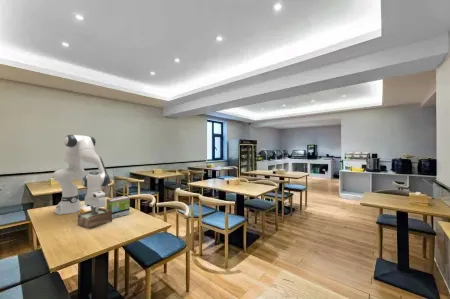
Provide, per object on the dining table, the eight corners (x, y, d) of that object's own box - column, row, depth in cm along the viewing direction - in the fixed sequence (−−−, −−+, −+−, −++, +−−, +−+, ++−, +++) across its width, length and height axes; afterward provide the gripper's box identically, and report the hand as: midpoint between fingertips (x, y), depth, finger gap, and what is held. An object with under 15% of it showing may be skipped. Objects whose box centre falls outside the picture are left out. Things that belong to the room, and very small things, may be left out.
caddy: (77, 225, 148) (77, 214, 148) (100, 217, 163) (99, 208, 163) (89, 229, 141) (89, 217, 141) (111, 221, 156) (111, 210, 156)
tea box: (111, 219, 160) (111, 201, 160) (106, 216, 166) (106, 198, 166) (130, 214, 172) (129, 197, 172) (124, 211, 178) (124, 195, 178)
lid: (80, 216, 149) (80, 208, 148) (98, 211, 161) (98, 204, 160) (90, 219, 143) (90, 211, 143) (108, 214, 155) (108, 206, 155)
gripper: (82, 192, 153) (82, 210, 153) (98, 195, 144) (98, 214, 144) (90, 191, 159) (90, 208, 159) (106, 193, 150) (107, 212, 150)
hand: (94, 211), depth 152 cm, fingers open, 3 cm apart
